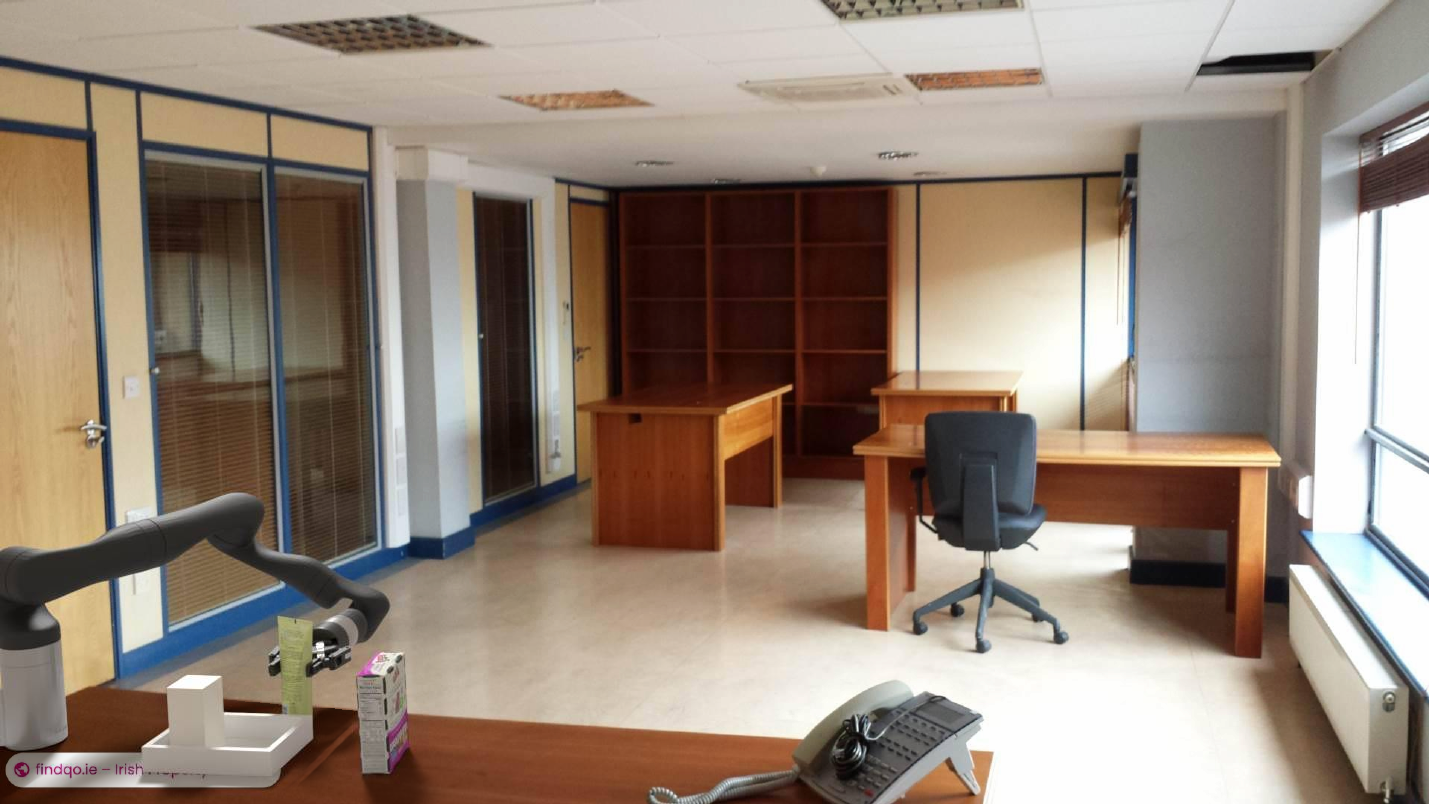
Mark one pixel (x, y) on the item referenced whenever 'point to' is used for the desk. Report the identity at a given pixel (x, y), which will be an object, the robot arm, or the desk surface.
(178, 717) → the carton
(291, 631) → the tube
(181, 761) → the tote
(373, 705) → the candy bar box
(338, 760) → the desk surface
